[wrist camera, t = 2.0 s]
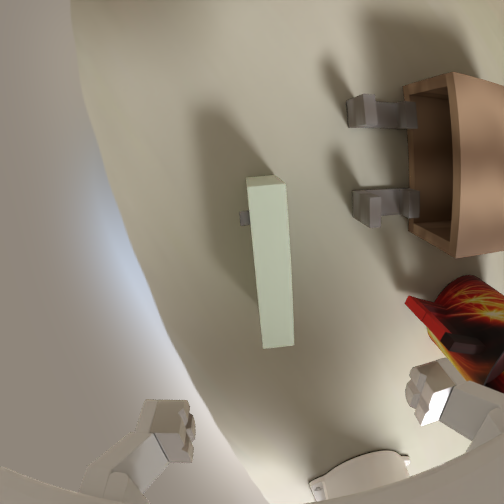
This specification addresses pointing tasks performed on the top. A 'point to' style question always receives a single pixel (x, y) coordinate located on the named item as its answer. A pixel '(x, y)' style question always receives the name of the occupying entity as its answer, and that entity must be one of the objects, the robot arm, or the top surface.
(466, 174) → the cabinet
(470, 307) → the mug
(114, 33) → the top surface
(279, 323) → the door
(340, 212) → the top surface
